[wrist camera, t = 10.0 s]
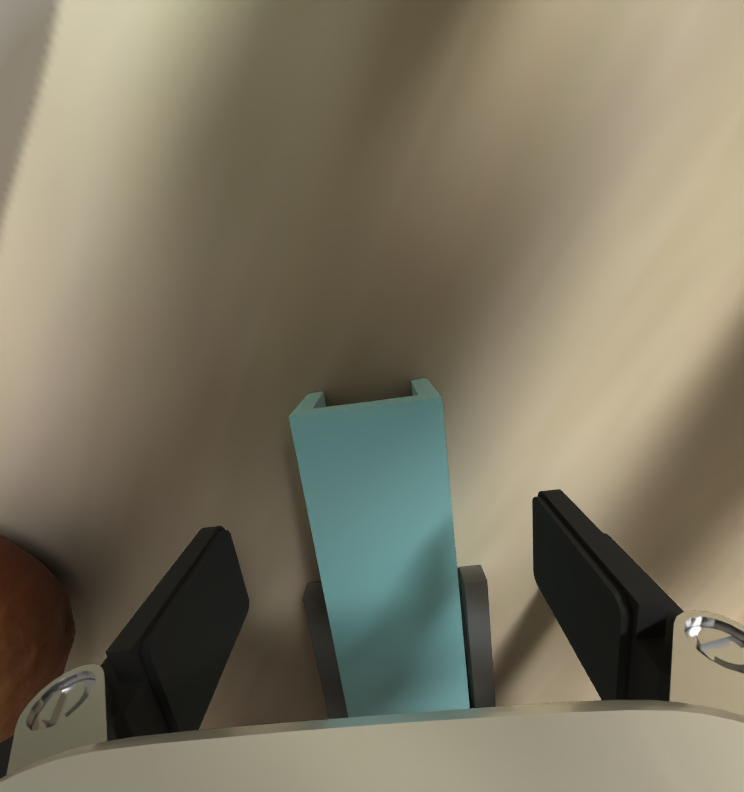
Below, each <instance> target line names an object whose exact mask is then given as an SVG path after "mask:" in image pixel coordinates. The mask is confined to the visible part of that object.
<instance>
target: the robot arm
mask: <svg viewBox="0 0 744 792" xmlns="http://www.w3.org/2000/svg"><path fill="white" fill-rule="evenodd" d="M532 504H533V570H534V577H535V580H536V583H537V585H538V587H539V589H540V591H541V592H542V594H543V596H544V598H545V599H546V601H547V603H548V605H549V607H550V608H551V610H552V612H553V614H554V616H555V617H556V619H557V621H558V623H559V624H560V626H561V628H562V630H563V632H564V633H565V635H566V637H567V639H568V641H569V642H570V644H571V646H572V648H573V649H574V651H575V653H576V655H577V657H578V658H579V660H580V662H581V664H582V665H583V667H584V669H585V671H586V673H587V674H588V676H589V678H590V680H591V682H592V683H593V685H594V687H595V689H596V690H597V692H598V694H599V696H600V698H601V699H602V700H601V701H581V702H561V703H542V704H527V705H513V706H499V707H485V708H470V709H456V710H442V711H428V712H415V713H402V714H389V715H376V716H363V717H350V718H337V719H325V720H312V721H299V722H287V723H275V724H264V725H252V726H240V727H228V728H216V729H204V730H199V727H200V725H201V722H202V720H203V718H204V715H205V713H206V711H207V708H208V706H209V703H210V701H211V699H212V696H213V694H214V691H215V689H216V687H217V684H218V682H219V679H220V677H221V675H222V672H223V670H224V668H225V665H226V663H227V660H228V658H229V656H230V653H231V651H232V648H233V646H234V644H235V641H236V639H237V636H238V634H239V632H240V629H241V627H242V625H243V622H244V620H245V617H246V615H247V612H248V608H249V598H248V595H247V591H246V587H245V584H244V580H243V577H242V573H241V570H240V566H239V562H238V559H237V555H236V552H235V548H234V545H233V541H232V538H231V534H230V532H229V531H228V530H225V529H224V528H223V527H222V526H216V527H207V528H202V529H201V530H200V531H199V532H198V534H197V535H196V536H195V537H194V539H193V540H192V541H191V543H190V544H189V545H188V546H187V548H186V549H185V550H184V552H183V553H182V554H181V555H180V557H179V558H178V559H177V561H176V562H175V563H174V564H173V566H172V567H171V568H170V570H169V571H168V572H167V574H166V575H165V576H164V577H163V579H162V580H161V581H160V583H159V584H158V585H157V586H156V588H155V589H154V590H153V592H152V593H151V594H150V595H149V597H148V598H147V599H146V601H145V602H144V603H143V604H142V606H141V607H140V608H139V610H138V611H137V612H136V613H135V615H134V616H133V617H132V619H131V620H130V621H129V623H128V624H127V625H126V626H125V628H124V629H123V630H122V632H121V633H120V634H119V635H118V637H117V638H116V639H115V641H114V642H113V643H112V644H111V646H110V647H109V648H108V650H107V651H106V654H107V658H106V660H105V661H104V662H103V664H102V665H101V666H99V665H97V664H87V665H83V666H80V667H76V668H74V669H72V670H70V671H68V672H66V673H64V674H63V675H61V676H60V677H58V678H56V679H55V680H53V681H52V682H51V683H49V684H48V685H47V686H46V687H45V688H43V689H42V690H41V691H40V692H39V693H38V694H37V695H36V696H35V697H34V698H33V699H32V700H31V701H30V702H29V703H28V705H27V706H26V708H25V709H24V711H23V712H22V713H21V715H20V717H19V719H18V722H17V724H16V727H15V733H14V735H12V736H11V737H9V738H8V739H6V740H5V741H3V742H2V743H0V792H744V626H743V625H741V624H740V623H738V622H736V621H733V620H731V619H729V618H726V617H724V616H722V615H718V614H714V613H710V612H707V611H695V610H693V611H687V612H684V611H683V610H682V609H681V608H680V607H679V606H678V605H677V604H676V603H675V602H674V601H673V600H672V599H671V598H670V597H669V596H668V595H667V594H666V593H665V592H664V591H663V590H662V589H661V588H660V587H659V586H658V585H657V584H656V583H655V582H654V581H653V580H652V579H651V578H650V577H649V576H648V575H647V574H646V573H645V572H644V571H643V570H642V569H641V568H640V567H639V566H638V565H637V564H636V563H635V562H634V561H633V560H632V559H631V558H630V556H629V555H628V554H627V553H626V552H625V551H624V550H623V549H622V548H621V547H620V546H619V545H618V544H617V543H616V542H615V541H614V540H613V539H612V538H611V537H610V536H608V535H607V534H605V533H602V532H601V531H600V530H599V529H598V528H597V527H596V526H595V525H594V524H593V522H592V521H591V520H590V519H589V518H588V517H587V516H586V515H585V514H584V513H583V512H582V511H581V510H580V509H579V508H578V507H577V506H576V505H575V504H574V503H573V502H572V501H571V500H570V499H569V498H568V497H567V496H566V495H565V494H564V493H563V491H561V490H559V489H558V490H549V491H540V492H539V493H538V497H534V498H533V502H532Z"/></svg>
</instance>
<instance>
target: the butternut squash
mask: <svg viewBox="0 0 744 792" xmlns="http://www.w3.org/2000/svg"><path fill="white" fill-rule="evenodd" d="M74 637H75V624H74V620H73V615H72V611H71V606H70V597H69V592H68V591H67V589H66V588H65V587H64V586H63V585H62V584H61V583H60V582H59V581H58V580H57V578H56V577H55V576H54V575H53V574H52V573H51V572H50V571H49V570H48V569H47V568H46V567H45V566H44V565H43V564H42V563H41V562H40V561H39V560H37V559H36V558H34V557H33V556H31V555H30V554H28V553H27V552H25V551H24V550H22V549H21V548H19V547H18V546H16V545H15V544H13V543H12V542H10V541H9V540H8V539H6V538H5V537H3V536H1V535H0V743H2V742H3V741H5V740H6V739H8V738H9V737H11V736H12V735H14V733H15V727H16V724H17V722H18V719H19V717H20V715H21V713H22V712H23V711H24V709H25V708H26V706H27V705H28V703H29V702H30V701H31V700H32V699H33V698H34V697H35V696H36V695H37V694H38V693H39V692H40V691H41V690H42V689H43V688H45V687H46V686H47V685H48V684H49V683H51V682H52V681H53V680H55V679H56V678H58V677H60V676H61V675H63V672H64V668H65V665H66V662H67V659H68V656H69V653H70V650H71V647H72V644H73V641H74Z"/></svg>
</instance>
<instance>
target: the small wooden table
mask: <svg viewBox="0 0 744 792" xmlns="http://www.w3.org/2000/svg"><path fill="white" fill-rule="evenodd" d="M459 568H460V579H461V590H462V602H463V613H464V625H465V636H466V648H467V659H468V670H469V682H470V693H471V705H472V708H485V707H496V706H495V691H494V676H493V661H492V646H491V631H490V616H489V601H488V585H487V579H486V577H485V574H484V572H483V569H482V567H481V565H475V566H465V567H459ZM303 601H304V605H305V610H306V614H307V619H308V624H309V628H310V633H311V638H312V642H313V647H314V651H315V656H316V661H317V665H318V670H319V674H320V679H321V684H322V688H323V693H324V697H325V702H326V707H327V711H328V716H329V719H337V718H349V717H348V712H347V707H346V702H345V697H344V692H343V687H342V682H341V677H340V672H339V667H338V662H337V657H336V652H335V647H334V642H333V637H332V632H331V627H330V622H329V617H328V612H327V607H326V602H325V597H324V592H323V587H322V582H314V583H307V587H306V591H305V595H304V599H303Z"/></svg>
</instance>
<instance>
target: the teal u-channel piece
mask: <svg viewBox="0 0 744 792" xmlns="http://www.w3.org/2000/svg"><path fill="white" fill-rule="evenodd" d="M411 387H412V396H408V397H400V398H392V399H384V400H376V401H369V402H361V403H353V404H345V405H337V406H330V407H326V403H325V397H324V391H323V392H315V393H308V394H307V395H306V396H305V398H304V399H303V400H302V401H301V402H300V404H299V405H298V406H297V407H296V408H295V410H294V411H293V412H292V413H291V414H290V416H289V422H290V427H291V432H292V437H293V442H294V447H295V452H296V457H297V462H298V467H299V472H300V477H301V482H302V487H303V492H304V497H305V502H306V507H307V512H308V517H309V522H310V527H311V532H312V537H313V542H314V547H315V552H316V557H317V562H318V567H319V572H320V577H321V582H322V587H323V592H324V597H325V602H326V607H327V612H328V617H329V622H330V627H331V632H332V637H333V642H334V647H335V652H336V657H337V662H338V667H339V672H340V677H341V682H342V687H343V692H344V697H345V702H346V707H347V712H348V717H349V718H350V717H363V716H376V715H389V714H402V713H415V712H428V711H442V710H456V709H470V705H469V694H468V683H467V672H466V661H465V650H464V639H463V628H462V617H461V606H460V595H459V584H458V572H457V561H456V550H455V539H454V528H453V517H452V506H451V495H450V484H449V473H448V462H447V451H446V440H445V428H444V417H443V406H442V397H441V396H440V394H439V393H438V392H437V391H436V389H435V388H434V387H433V385H432V384H431V383H430V381H429V380H428V379H427V378H423V379H415V380H411Z"/></svg>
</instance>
